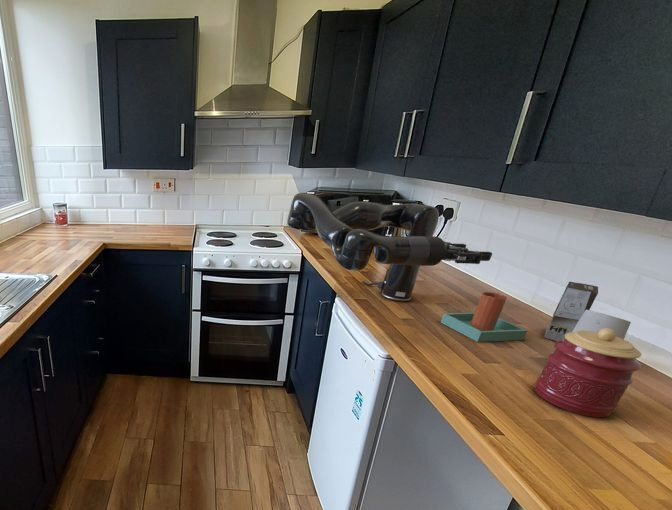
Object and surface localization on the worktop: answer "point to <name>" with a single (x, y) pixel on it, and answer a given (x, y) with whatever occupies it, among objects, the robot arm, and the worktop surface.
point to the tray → (500, 332)
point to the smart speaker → (602, 323)
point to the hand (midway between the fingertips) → (476, 252)
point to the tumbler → (488, 311)
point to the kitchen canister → (588, 372)
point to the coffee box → (570, 309)
